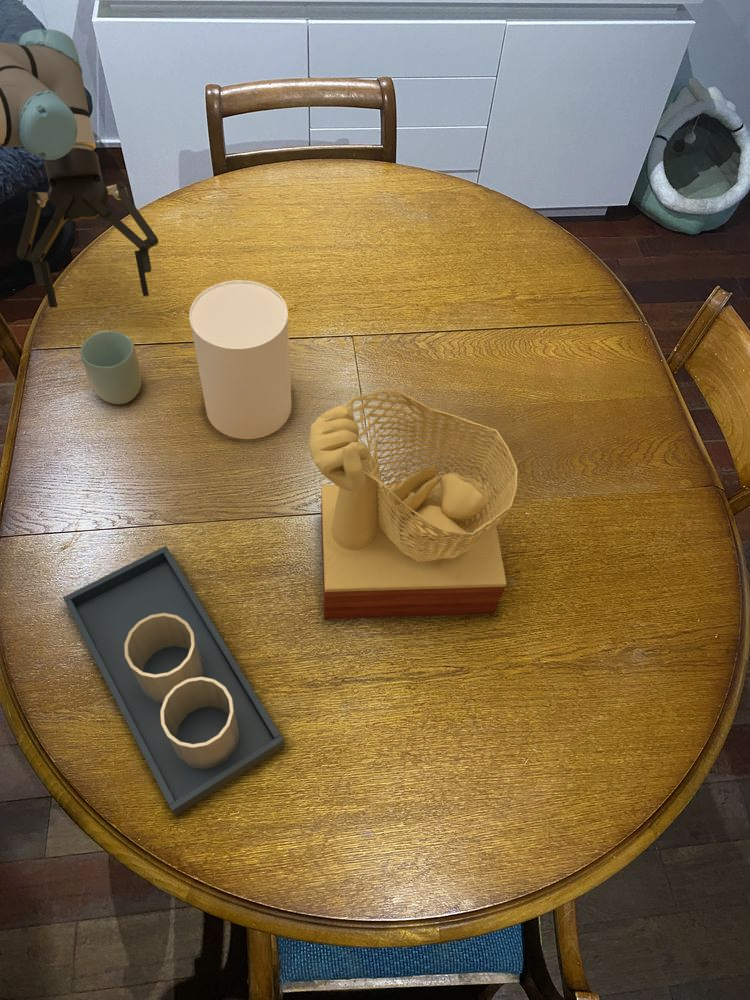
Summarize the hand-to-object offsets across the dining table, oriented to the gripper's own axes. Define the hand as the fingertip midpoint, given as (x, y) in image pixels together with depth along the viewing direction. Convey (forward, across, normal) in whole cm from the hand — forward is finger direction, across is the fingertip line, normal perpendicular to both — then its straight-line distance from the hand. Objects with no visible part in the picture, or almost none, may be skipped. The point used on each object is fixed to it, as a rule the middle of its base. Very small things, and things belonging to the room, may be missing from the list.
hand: (100, 301), depth 119 cm
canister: (+19, +19, -2) cm, 27 cm away
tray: (+49, +3, -32) cm, 58 cm away
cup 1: (+14, 0, +3) cm, 15 cm away
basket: (+42, +35, -24) cm, 60 cm away
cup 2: (+49, +3, -32) cm, 58 cm away
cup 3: (+55, +6, -38) cm, 67 cm away
